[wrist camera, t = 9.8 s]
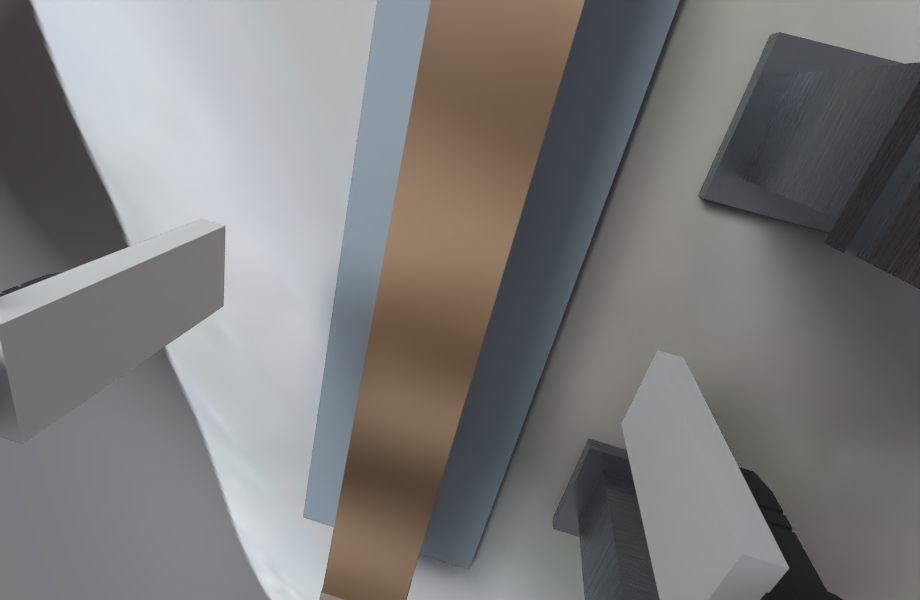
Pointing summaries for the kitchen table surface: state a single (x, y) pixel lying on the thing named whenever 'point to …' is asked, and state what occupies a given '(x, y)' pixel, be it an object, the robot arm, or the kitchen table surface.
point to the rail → (442, 271)
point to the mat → (528, 265)
